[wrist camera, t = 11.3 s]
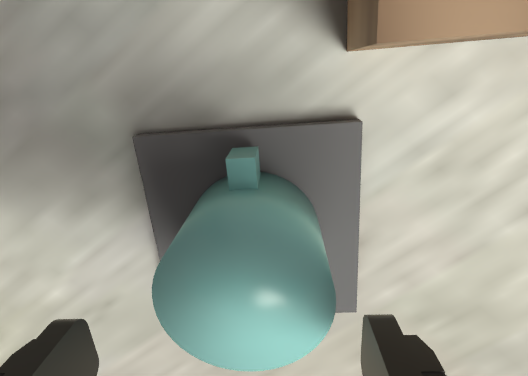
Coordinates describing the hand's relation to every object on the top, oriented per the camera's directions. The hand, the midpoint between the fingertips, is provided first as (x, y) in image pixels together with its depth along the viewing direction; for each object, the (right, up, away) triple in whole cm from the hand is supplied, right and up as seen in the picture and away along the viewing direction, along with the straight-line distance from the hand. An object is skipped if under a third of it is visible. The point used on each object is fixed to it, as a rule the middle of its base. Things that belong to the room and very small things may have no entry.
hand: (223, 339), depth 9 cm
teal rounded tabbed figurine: (+1, +2, +5) cm, 5 cm away
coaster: (+1, +3, +5) cm, 6 cm away
